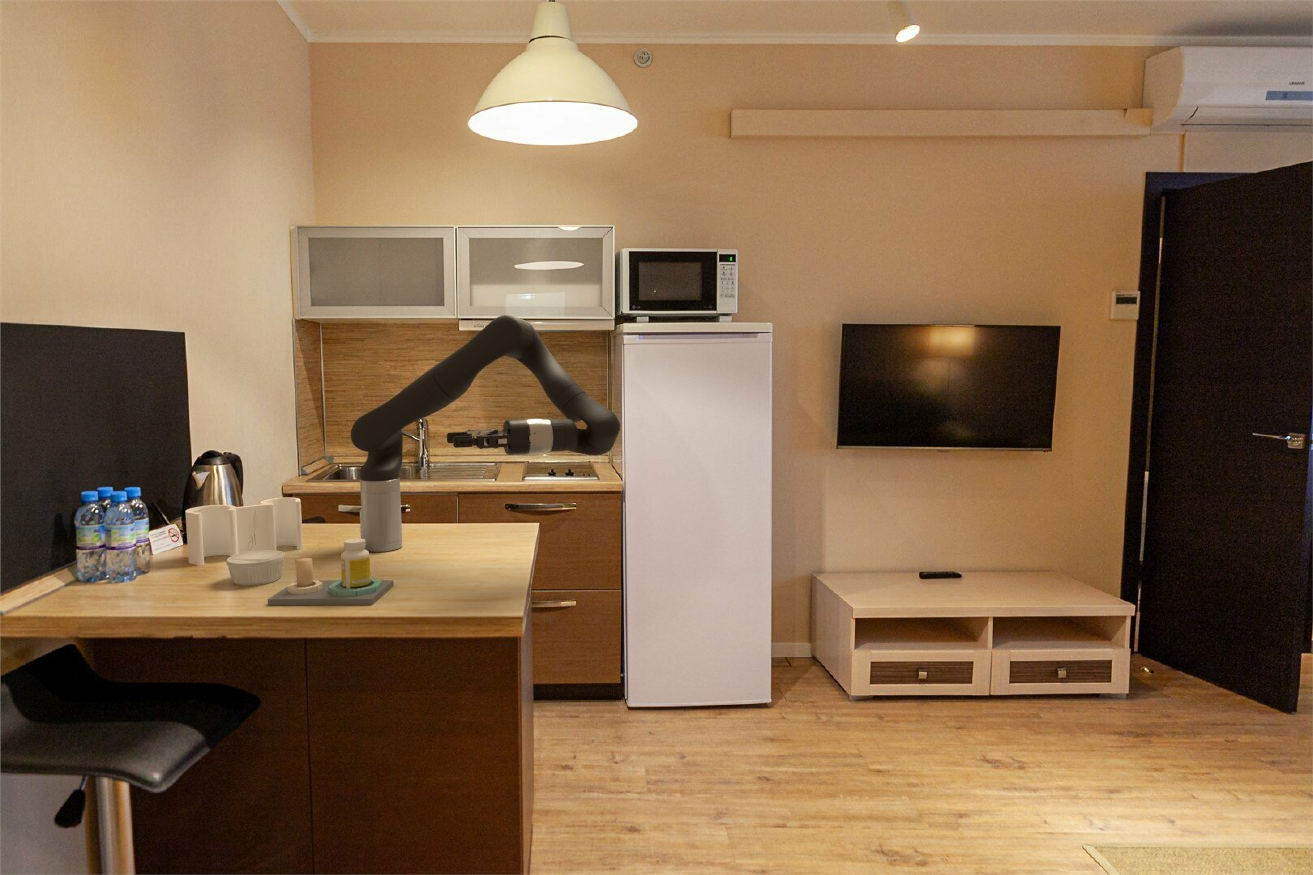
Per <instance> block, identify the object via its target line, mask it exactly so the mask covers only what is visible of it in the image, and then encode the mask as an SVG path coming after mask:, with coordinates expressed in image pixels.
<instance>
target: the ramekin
mask: <svg viewBox="0 0 1313 875" xmlns="http://www.w3.org/2000/svg"><path fill="white" fill-rule="evenodd" d="M285 557H286V554H285V552H283V551H282V550H277V551H276V550H257V551H250V552H244V553H240V554H236V555H233V556H229V557H228V558H227V559H226V565H227V566H228V572H229V575H230V577H231V581H232V582H233V584H235V585H237V586H244V587H248V586H260V585H266V584H270V583H274V582H276V581H278V580H280V579H281V577H282V575H283V570H284V562H285V560H284V559H285Z"/></svg>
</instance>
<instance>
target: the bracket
mask: <svg viewBox="0 0 1313 875" xmlns="http://www.w3.org/2000/svg"><path fill="white" fill-rule="evenodd" d="M301 503H302V500H301V499H300V498H298V497H277V498H276V497H275V498H267V499H264V500H261V501H260V503H259V504H253V505H243V506H235V505H231V504H211V505H209V504H208V505H201V506H195V507H190V508H187V509H186V510H185V512H184V513H185V526H186V528H185V529H186V538H187V539H186V542H187V556H188V564H190V565H196V566H198V567H201V566H205V558H206V557H210V556H211V557H212V556H229V557H231V556H233V555H236V554H240V553H244V552H250V551H257V550H276V551H278V550H277V547H286V546H293V547H296V550H297V551H301V550H304V544H303V540H304V539H303V523H302V521H303V520H302V504H301Z"/></svg>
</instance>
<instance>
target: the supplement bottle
mask: <svg viewBox="0 0 1313 875" xmlns="http://www.w3.org/2000/svg"><path fill="white" fill-rule="evenodd" d="M364 548H365V539H361V538H349V539H345V540H344V541H343V549H344V551H342V552H341V554H340V569H341V570H340V571H341V572H340V574H341V580H342V589H360V588H365V587H369V586H370V585H371V582H370V578H371V563H370V562H371V561H370V560H371V558H370V553H369V552H370V551H367V550H365V549H364Z"/></svg>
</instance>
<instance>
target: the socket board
mask: <svg viewBox="0 0 1313 875" xmlns="http://www.w3.org/2000/svg"><path fill="white" fill-rule="evenodd" d="M313 572H314V571H313V558H312V557H311V558H310V557H302V558H297V559H296V560H295V573H296V574H295V575H296V580H295V581H294V582H292V583H290V584H288V585H287V586H285V587H284V588H283V589H280V591H278V592H277V593H275V594H273V595H272V596H271V597H269V598H267V605H268V606H372V605H373V606H374V604H375V603H376V602H377V601H379V600H380V599H381V598H382V597H383V596H384V595H385V594H386V593H388V592H389V591H390V589H392V588H393V587H394V586H395V585H394V583H395V582H394V579H393V580H392V579H377V578H374V577H370V582H371V585H370V586H369V587H365V588H360V589H342V579H341V580H340V579H338V580H337V579H333V580H330V579H329V580H327V579H321V580H319V579H318V580H317V579H314V576H313V575H314V574H313ZM283 604H284V605H283Z"/></svg>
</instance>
